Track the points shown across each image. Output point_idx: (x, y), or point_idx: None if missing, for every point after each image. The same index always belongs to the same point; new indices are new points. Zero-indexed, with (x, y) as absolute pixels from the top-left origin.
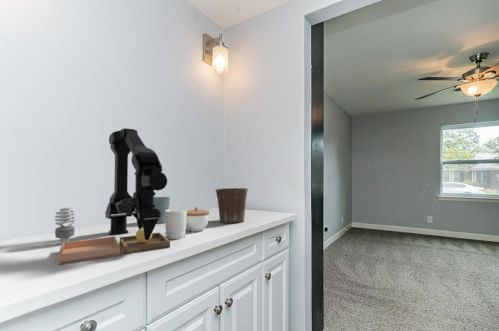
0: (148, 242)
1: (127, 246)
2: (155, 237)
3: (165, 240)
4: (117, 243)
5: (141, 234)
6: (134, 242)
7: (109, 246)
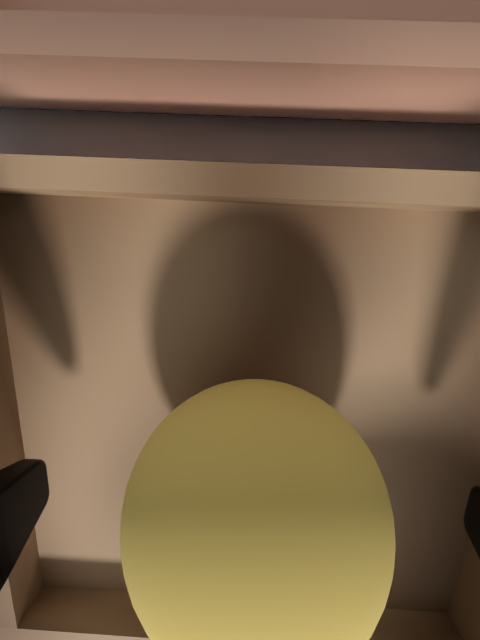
0: None
1: (190, 233)
2: (419, 583)
3: (114, 617)
4: (79, 39)
5: (134, 479)
6: (346, 348)
7: (386, 1)
